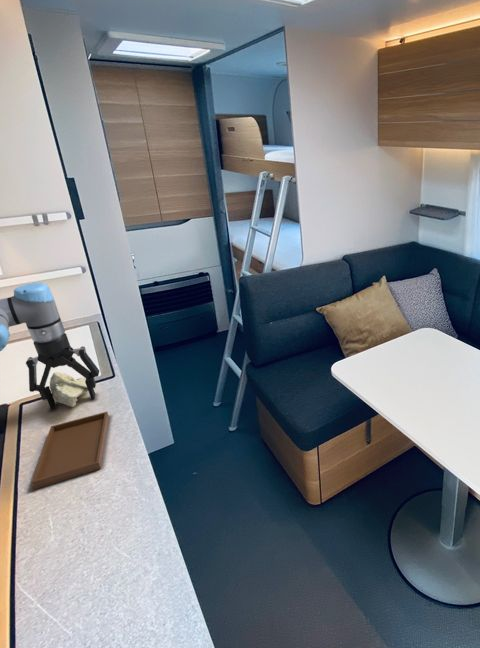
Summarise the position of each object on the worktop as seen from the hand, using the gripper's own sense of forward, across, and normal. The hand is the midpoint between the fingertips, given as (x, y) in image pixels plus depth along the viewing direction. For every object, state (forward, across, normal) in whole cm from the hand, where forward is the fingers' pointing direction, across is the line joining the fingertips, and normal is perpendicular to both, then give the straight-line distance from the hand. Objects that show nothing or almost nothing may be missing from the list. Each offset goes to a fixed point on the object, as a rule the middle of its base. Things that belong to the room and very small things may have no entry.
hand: (73, 401), depth 124 cm
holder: (0, +4, -24) cm, 24 cm away
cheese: (0, +1, 0) cm, 1 cm away
